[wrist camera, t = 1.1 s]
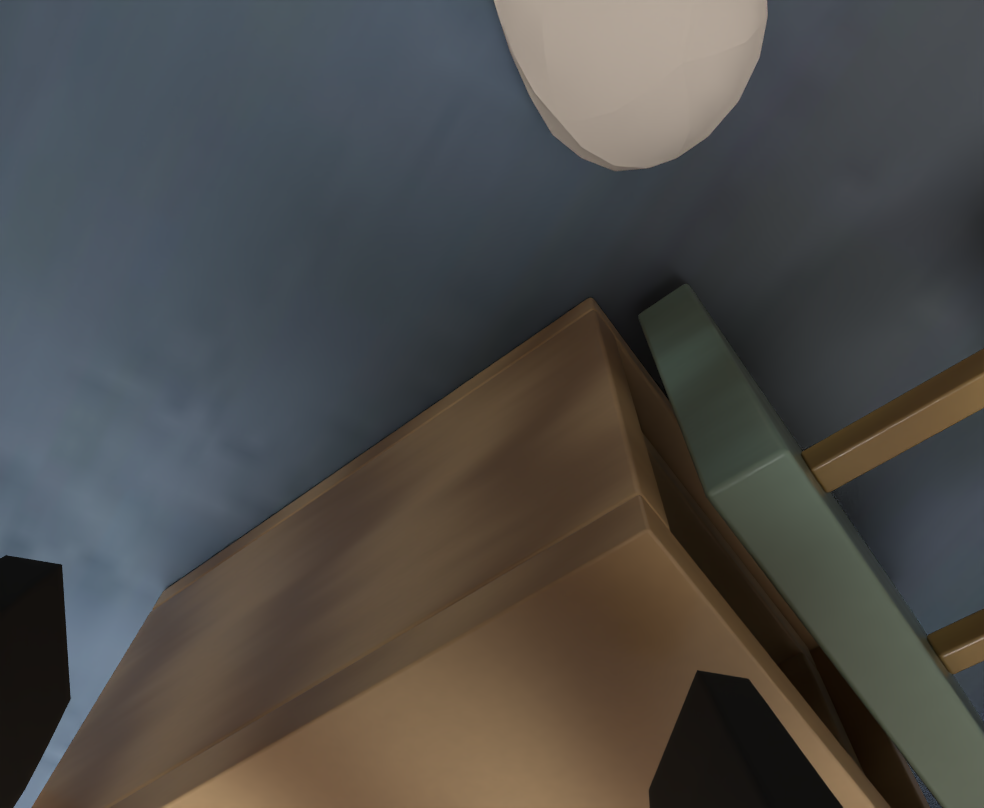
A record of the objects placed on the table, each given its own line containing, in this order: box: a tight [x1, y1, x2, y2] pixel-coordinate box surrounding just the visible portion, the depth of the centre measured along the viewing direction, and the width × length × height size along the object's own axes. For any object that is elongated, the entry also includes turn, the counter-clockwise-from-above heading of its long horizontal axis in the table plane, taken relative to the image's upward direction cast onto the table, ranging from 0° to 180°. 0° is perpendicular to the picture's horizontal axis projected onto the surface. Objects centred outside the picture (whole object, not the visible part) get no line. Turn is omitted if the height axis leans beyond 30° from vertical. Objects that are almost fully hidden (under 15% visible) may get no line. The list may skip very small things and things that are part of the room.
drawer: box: [638, 284, 984, 808], centre depth 16 cm, size 18×10×7 cm, turn 127°
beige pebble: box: [494, 0, 768, 171], centre depth 14 cm, size 4×5×2 cm
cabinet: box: [32, 298, 930, 808], centre depth 17 cm, size 14×12×9 cm
